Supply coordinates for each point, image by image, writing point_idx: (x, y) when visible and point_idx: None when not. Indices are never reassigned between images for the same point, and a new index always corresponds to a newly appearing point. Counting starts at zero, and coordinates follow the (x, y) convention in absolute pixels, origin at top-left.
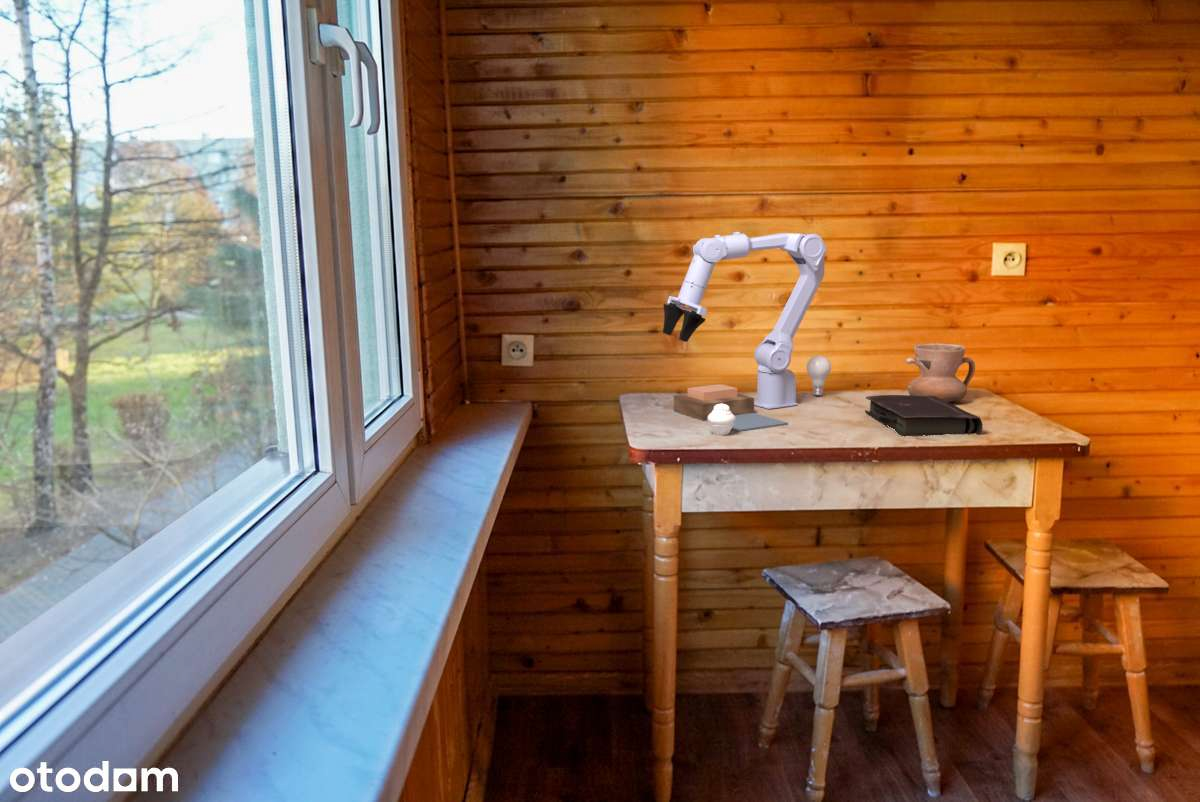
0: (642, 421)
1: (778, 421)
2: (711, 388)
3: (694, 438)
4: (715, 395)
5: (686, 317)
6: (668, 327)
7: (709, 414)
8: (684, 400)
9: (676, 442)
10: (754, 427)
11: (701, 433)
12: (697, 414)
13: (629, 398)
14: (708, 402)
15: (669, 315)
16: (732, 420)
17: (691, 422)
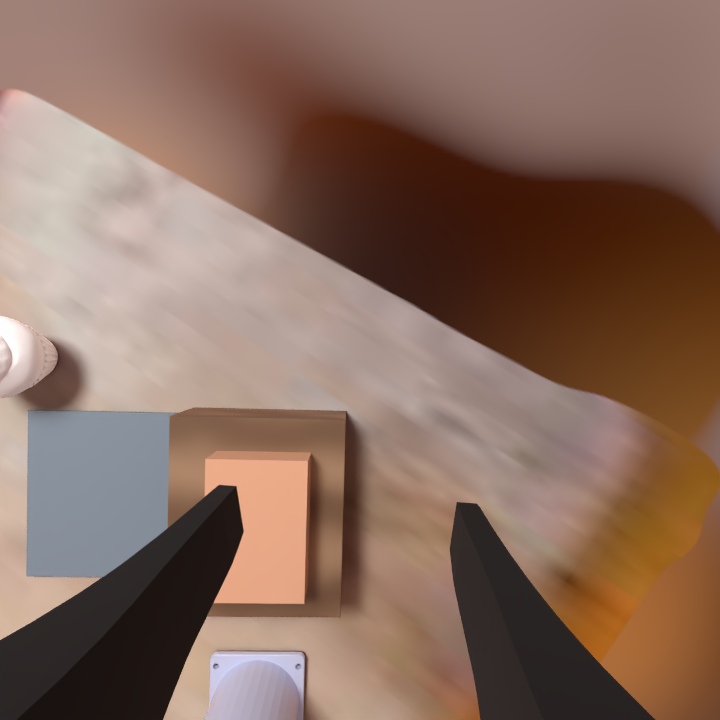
0: (280, 263)
1: (53, 564)
2: (253, 526)
3: (33, 266)
4: None
5: (2, 662)
6: (468, 570)
7: (5, 327)
8: (280, 417)
9: (21, 202)
10: (29, 463)
11: (71, 315)
12: (217, 410)
13: (573, 403)
14: (183, 446)
15: (514, 684)
16: None
17: (196, 369)
